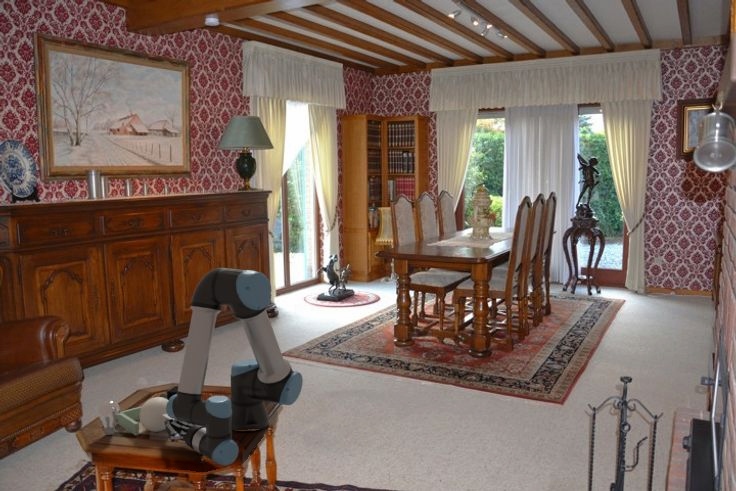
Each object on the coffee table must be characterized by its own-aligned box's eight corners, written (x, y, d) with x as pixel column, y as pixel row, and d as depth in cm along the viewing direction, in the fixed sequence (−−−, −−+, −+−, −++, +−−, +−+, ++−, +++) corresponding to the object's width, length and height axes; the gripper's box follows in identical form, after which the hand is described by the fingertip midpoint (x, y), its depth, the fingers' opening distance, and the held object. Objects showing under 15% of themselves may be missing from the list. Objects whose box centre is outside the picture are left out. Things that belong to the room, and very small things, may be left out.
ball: (187, 411, 216) (169, 387, 221) (161, 417, 206) (143, 392, 210) (170, 434, 219) (153, 410, 224) (144, 442, 209) (127, 416, 213)
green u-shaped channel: (181, 422, 223) (180, 411, 222) (135, 435, 211) (135, 424, 210) (161, 411, 233) (161, 401, 232) (117, 423, 220) (117, 412, 220)
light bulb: (112, 440, 207) (111, 405, 205) (94, 438, 208) (93, 403, 207) (124, 432, 213) (124, 398, 212) (106, 430, 215) (105, 396, 213)
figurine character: (159, 411, 237) (195, 410, 233) (157, 391, 236) (193, 391, 233) (169, 404, 244) (204, 404, 240) (167, 385, 243) (202, 385, 239)
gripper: (183, 457, 190) (146, 434, 206) (219, 444, 199) (181, 423, 215) (182, 433, 189) (145, 412, 205) (219, 421, 198) (181, 402, 214)
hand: (164, 418), depth 210 cm, fingers closed
